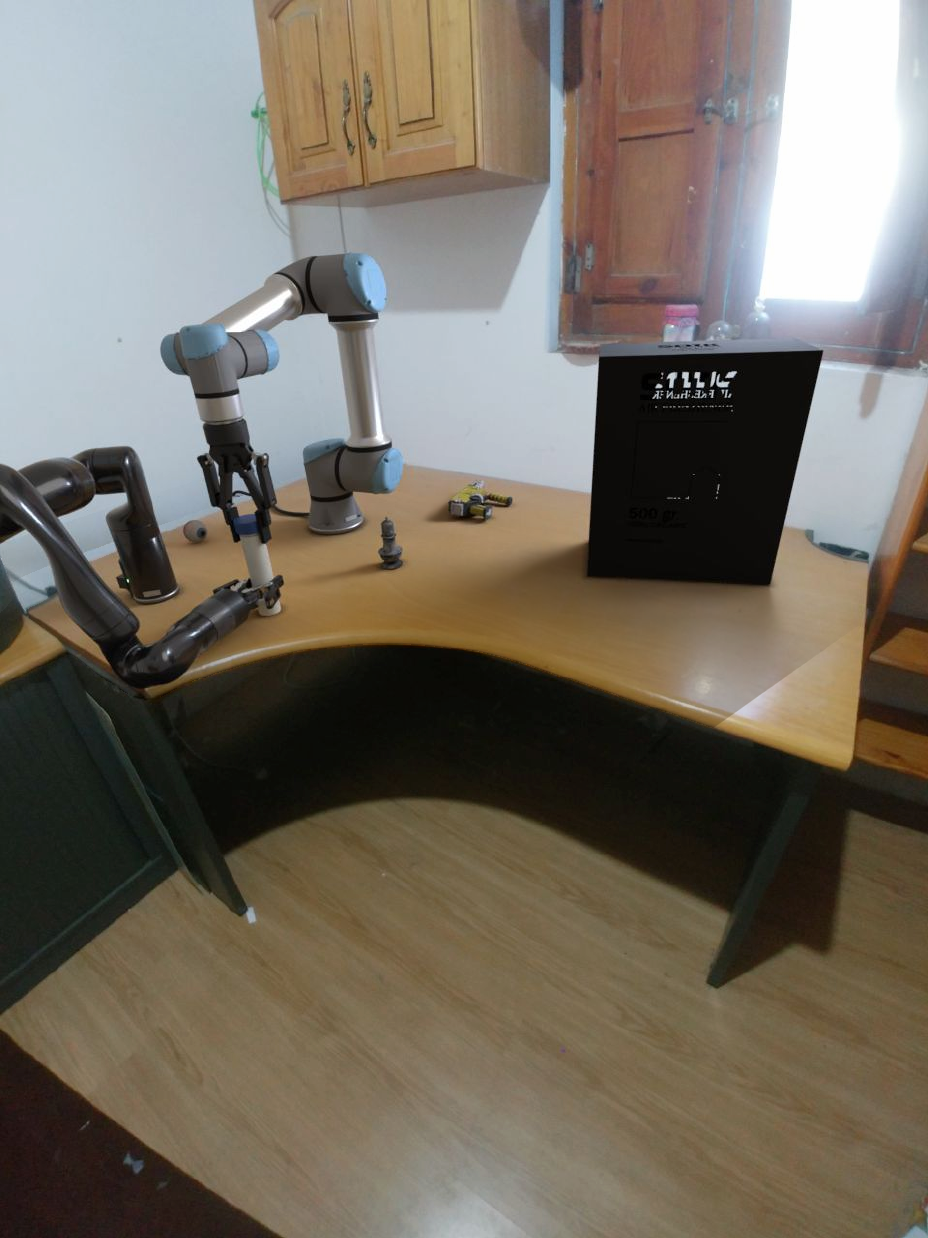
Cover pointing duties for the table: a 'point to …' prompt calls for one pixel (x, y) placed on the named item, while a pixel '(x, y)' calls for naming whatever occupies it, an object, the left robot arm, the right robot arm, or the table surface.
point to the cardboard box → (696, 457)
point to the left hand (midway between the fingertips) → (270, 577)
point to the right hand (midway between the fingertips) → (253, 540)
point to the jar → (258, 567)
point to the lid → (246, 524)
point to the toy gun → (475, 501)
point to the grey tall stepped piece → (389, 546)
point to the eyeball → (195, 531)
